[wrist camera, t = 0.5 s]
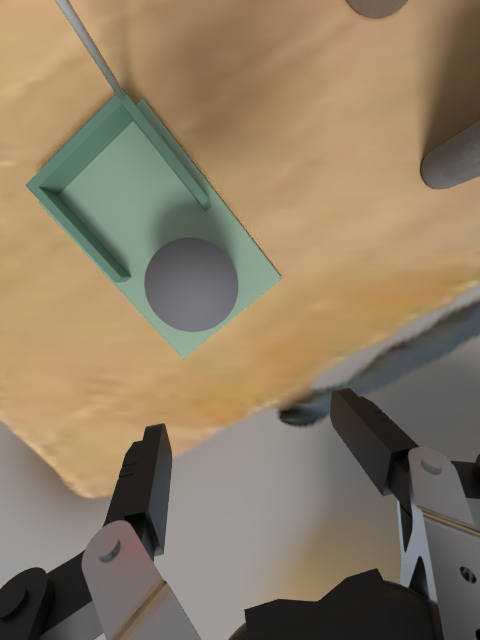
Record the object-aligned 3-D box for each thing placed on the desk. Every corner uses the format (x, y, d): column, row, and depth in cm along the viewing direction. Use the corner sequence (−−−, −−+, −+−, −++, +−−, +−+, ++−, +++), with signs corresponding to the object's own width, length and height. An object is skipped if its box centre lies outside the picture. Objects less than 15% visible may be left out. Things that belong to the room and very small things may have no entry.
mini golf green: (144, 100, 28) (-164, -490, 6) (281, 278, 33) (378, 289, 11) (40, 203, 30) (-473, 17, 8) (183, 358, 35) (97, 505, 13)
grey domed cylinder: (204, 228, 31) (195, 216, 24) (252, 288, 33) (257, 292, 26) (147, 278, 32) (124, 280, 25) (197, 334, 34) (188, 349, 27)
